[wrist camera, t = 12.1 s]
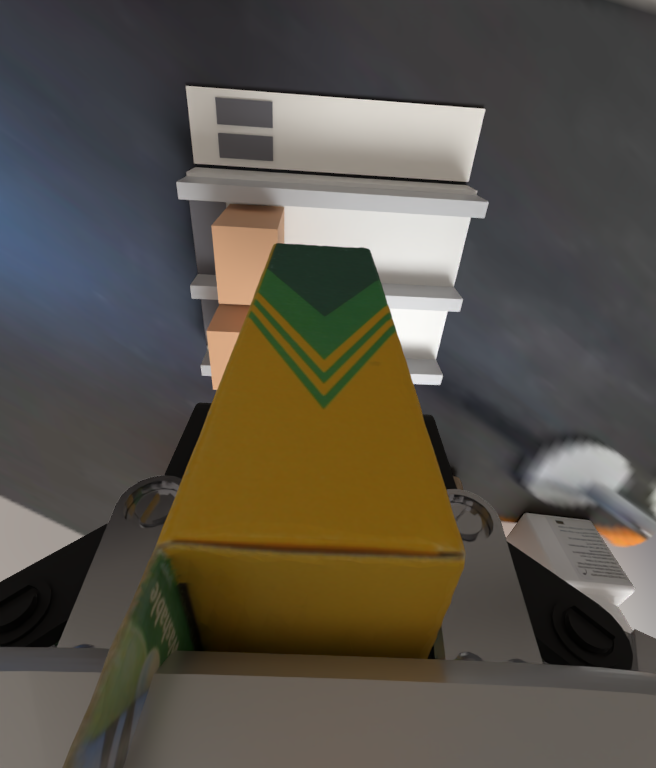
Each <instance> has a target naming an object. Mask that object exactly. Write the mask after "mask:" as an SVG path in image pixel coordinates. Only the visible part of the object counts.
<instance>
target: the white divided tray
mask: <svg viewBox="0 0 656 768" xmlns="http://www.w3.org/2000/svg"><path fill="white" fill-rule="evenodd" d="M186 94H187V103H188V112H189V121H190V131H191V140H192V149H193V158H194V164H208V165H223V166H238V167H253V168H268V169H283V170H298V171H312V172H327V173H342V174H357V175H372V176H387V177H402V178H417V179H432V180H446V181H461V182H469V177H470V173H471V169H472V164H473V160H474V156H475V152H476V147H477V143H478V139H479V134H480V130H481V126H482V121H483V117H484V113H485V109H480V108H467V107H454V106H441V105H429V104H416V103H403V102H390V101H377V100H364V99H351V98H338V97H325V96H312V95H299V94H286V93H273V92H260V91H247V90H234V89H221V88H208V87H196V86H186ZM186 174H187V176H186V177H184V178H182V179H181V180H179V181H177V182H176V183H177V191H178V198H179V199H184V200H189V203H190V212H191V220H192V228H193V237H194V245H195V254H196V262H197V270H198V275H197V276H196V278H195V279H194V280H193V282H192V283H191V285H190V289H191V296H192V299H201V304H202V312H203V321H204V329H205V337H206V346H207V352H206V354H205V357H204V359H203V361H202V363H201V372H202V376H212V375H211V366H210V358H209V349H208V341H207V332H206V331H207V329H208V327H209V324H210V322H211V320H212V318H213V316H214V314H215V312H216V310H217V308H218V306H219V302H218V291H217V281H216V270H215V260H214V249H213V238H212V228H211V225H212V224H213V223H214V222H215V221H216V219H217V218H218V217H219V216H220V215H221V214H222V212H223V211H224V210H225V209H226V208H227V207H228V205H229V204H245V205H261V206H277V207H284V244H303V245H317V246H335V247H354V248H360V247H363V248H367V249H369V250H370V251H371V254H372V257H373V260H374V263H375V266H376V268H377V272H378V274H379V278H380V281H381V283H382V287H383V290H384V293H385V296H386V300H387V304H388V306H389V309H390V312H391V315H392V319H393V322H394V325H395V328H396V332H397V335H398V338H399V340H400V343H401V346H402V350H403V354H404V356H405V358H406V362H407V365H408V368H409V372H410V375H411V379H412V382H413V384H429V385H440V384H441V380H442V377H443V374H442V372H441V370H440V368H439V366H438V364H437V361H436V357H437V353H438V349H439V344H440V340H441V336H442V332H443V328H444V324H445V320H446V316H447V312H448V311H453V312H460V309H461V305H462V301H463V299H462V297H461V296H460V295H459V293H458V292H457V291H456V289H455V288H454V284H455V280H456V276H457V271H458V267H459V263H460V259H461V255H462V251H463V247H464V243H465V239H466V235H467V231H468V227H469V223H470V219H471V217H473V218H485V214H486V210H487V207H488V203H489V202H488V201H486V200H484V199H483V198H481V197H479V196H477V195H476V194H477V191H476V190H474V189H473V188H471V187H469V186H467V185H457V184H442V183H427V182H412V181H397V180H382V179H367V178H352V177H337V176H322V175H307V174H292V173H277V172H262V171H247V170H232V169H217V168H202V167H194V168H193V169H191V170H189V171H187V172H186Z"/></svg>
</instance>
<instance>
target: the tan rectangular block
mask: <svg viewBox="0 0 656 768" xmlns="http://www.w3.org/2000/svg"><path fill="white" fill-rule="evenodd" d="M211 228H212V238H213V249H214V260H215V270H216V281H217V291H218V302H219V304H240V305H251V302H252V300H253V297H254V294H255V291H256V288H257V286H258V283H259V280H260V278H261V275H262V273H263V271H264V268H265V266H266V263H267V260H268V257H269V254H270V252H271V249H272V247H273V245H274V244H276V243H283V244H284V207H277V206H261V205H245V204H229V205H228V207H227V208H226V209H225V210H224V211H223V212H222V214H221V215H220V216H219V217H218V218H217V219H216V221H215V222H214V223H213V224H212V225H211Z"/></svg>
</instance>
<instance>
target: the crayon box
mask: <svg viewBox="0 0 656 768" xmlns="http://www.w3.org/2000/svg"><path fill="white" fill-rule="evenodd" d="M465 555H466V553H465V549H464V545H463V541H462V538H461V535H460V532H459V530H458V527H457V524H456V521H455V518H454V515H453V511H452V508H451V504H450V501H449V497H448V494H447V491H446V487H445V484H444V481H443V478H442V475H441V472H440V468H439V465H438V462H437V459H436V456H435V453H434V449H433V446H432V443H431V440H430V437H429V434H428V431H427V428H426V426H425V422H424V418H423V415H422V411H421V407H420V404H419V400H418V397H417V395H416V391H415V388H414V385H413V382H412V379H411V375H410V372H409V368H408V365H407V362H406V358H405V356H404V354H403V350H402V346H401V343H400V340H399V338H398V335H397V332H396V328H395V325H394V322H393V319H392V315H391V312H390V309H389V306H388V304H387V300H386V296H385V293H384V290H383V287H382V283H381V281H380V278H379V274H378V272H377V268H376V266H375V263H374V260H373V257H372V254H371V251H370V250H369V249H367V248H363V247H360V248H354V247H335V246H317V245H303V244H283V243H276V244H274V245H273V247H272V249H271V252H270V254H269V257H268V260H267V263H266V266H265V268H264V271H263V273H262V275H261V278H260V280H259V283H258V286H257V288H256V291H255V294H254V297H253V300H252V302H251V305H250V307H249V310H248V313H247V315H246V318H245V321H244V323H243V325H242V328H241V330H240V333H239V335H238V338H237V341H236V343H235V345H234V348H233V351H232V353H231V356H230V358H229V361H228V363H227V366H226V368H225V371H224V374H223V376H222V379H221V381H220V384H219V387H218V389H217V392H216V394H215V397H214V399H213V402H212V404H211V407H210V409H209V412H208V414H207V417H206V420H205V422H204V425H203V428H202V431H201V433H200V436H199V438H198V441H197V443H196V445H195V448H194V450H193V453H192V455H191V457H190V460H189V462H188V465H187V467H186V470H185V473H184V475H183V478H182V480H181V483H180V486H179V489H178V491H177V494H176V497H175V499H174V501H173V504H172V506H171V509H170V511H169V513H168V516H167V518H166V521H165V523H164V525H163V528H162V531H161V533H160V536H159V539H158V541H157V544H156V546H155V549H154V551H153V553H152V555H151V558H150V560H149V562H148V564H147V567H146V569H145V572H144V574H143V576H142V579H141V581H140V584H139V586H138V588H137V591H136V593H135V595H134V598H133V600H132V602H131V605H130V607H129V609H128V611H127V613H126V615H125V617H124V619H123V621H122V623H121V625H120V627H119V629H118V631H117V633H116V636H115V638H114V640H113V642H112V645H111V647H110V649H109V651H108V654H107V657H106V660H105V663H104V666H103V669H102V672H101V675H100V677H99V680H98V683H97V685H96V688H95V691H94V693H93V696H92V699H91V701H90V704H89V706H88V709H87V711H86V713H85V715H84V718H83V720H82V722H81V724H80V727H79V729H78V731H77V733H76V736H75V738H74V740H73V742H72V745H71V747H70V750H69V752H68V755H67V757H66V760H65V762H64V765H63V767H62V768H123V767H124V764H125V761H126V758H127V755H128V752H129V749H130V746H131V743H132V739H133V736H134V733H135V730H136V727H137V724H138V721H139V718H140V715H141V712H142V709H143V706H144V703H145V700H146V697H147V694H148V691H149V688H150V685H151V682H152V679H153V675H154V673H155V672H156V671H157V670H158V669H159V667H160V666H161V665H162V664H163V662H164V661H165V660H166V659H167V658H168V657H169V656H170V655H171V654H172V653H173V652H174V651H208V652H240V653H270V654H300V655H329V656H358V657H386V658H412V659H427V658H428V656H429V653H430V651H431V648H432V646H433V644H434V642H435V640H436V637H437V634H438V631H439V629H440V627H441V626H442V622H443V618H444V616H445V614H446V612H447V610H448V608H449V606H450V604H451V600H452V595H453V593H454V591H455V588H456V586H457V584H458V581H459V578H460V576H461V574H462V571H463V569H464V564H465Z"/></svg>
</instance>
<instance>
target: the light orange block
mask: <svg viewBox="0 0 656 768" xmlns="http://www.w3.org/2000/svg"><path fill="white" fill-rule="evenodd" d="M249 307H250V305H240V304H219V306H218V308H217V310H216V312H215V314H214V316H213V318H212V320H211V322H210V324H209V327H208V329H207V331H206V332H207V341H208V349H209V358H210V366H211V375H212V384H213V390H217V389H218V387H219V384H220V381H221V379H222V376H223V374H224V371H225V368H226V366H227V363H228V361H229V358H230V356H231V353H232V351H233V348H234V345H235V343H236V341H237V338H238V335H239V333H240V330H241V328H242V325H243V323H244V321H245V318H246V315H247V313H248V310H249Z"/></svg>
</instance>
